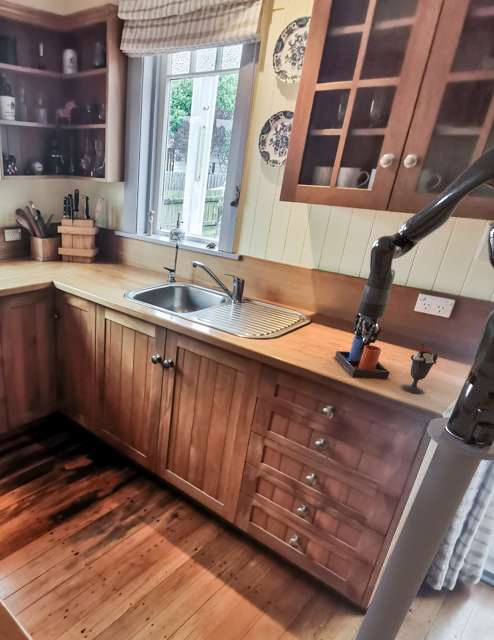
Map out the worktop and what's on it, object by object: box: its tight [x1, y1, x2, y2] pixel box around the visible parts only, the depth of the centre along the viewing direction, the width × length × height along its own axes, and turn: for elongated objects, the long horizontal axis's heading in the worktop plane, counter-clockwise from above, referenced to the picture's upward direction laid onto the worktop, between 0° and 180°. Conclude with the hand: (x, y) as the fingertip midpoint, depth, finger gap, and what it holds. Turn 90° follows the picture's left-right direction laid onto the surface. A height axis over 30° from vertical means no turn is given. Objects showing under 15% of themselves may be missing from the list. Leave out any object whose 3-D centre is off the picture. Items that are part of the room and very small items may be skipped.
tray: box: [334, 350, 391, 380], centre depth 153 cm, size 15×11×3 cm
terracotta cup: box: [358, 344, 382, 370], centre depth 148 cm, size 5×5×8 cm
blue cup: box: [348, 335, 367, 361], centre depth 155 cm, size 5×5×8 cm
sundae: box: [403, 343, 438, 394], centre depth 138 cm, size 7×7×15 cm
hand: (359, 349), depth 155 cm, fingers closed on blue cup, 5 cm apart
